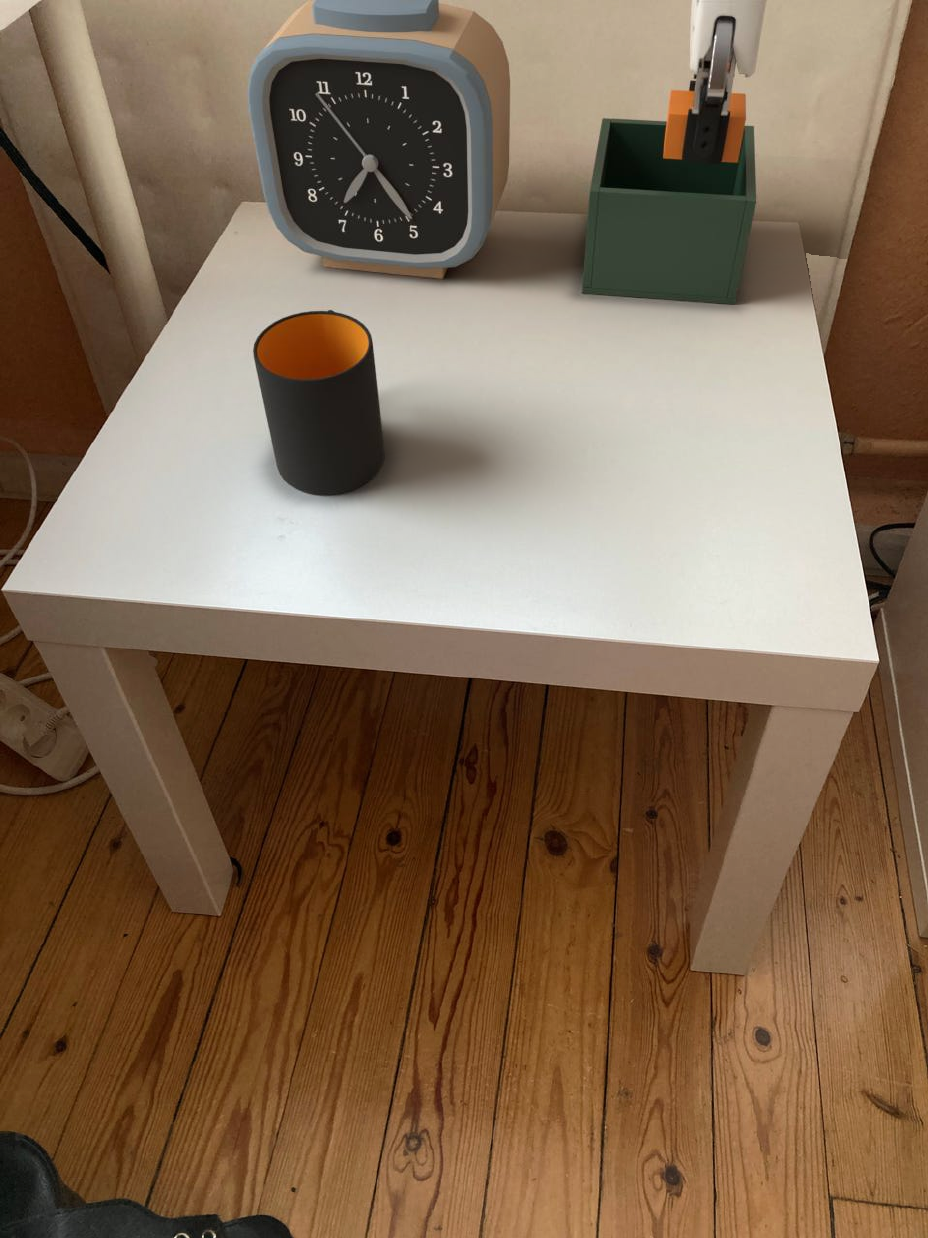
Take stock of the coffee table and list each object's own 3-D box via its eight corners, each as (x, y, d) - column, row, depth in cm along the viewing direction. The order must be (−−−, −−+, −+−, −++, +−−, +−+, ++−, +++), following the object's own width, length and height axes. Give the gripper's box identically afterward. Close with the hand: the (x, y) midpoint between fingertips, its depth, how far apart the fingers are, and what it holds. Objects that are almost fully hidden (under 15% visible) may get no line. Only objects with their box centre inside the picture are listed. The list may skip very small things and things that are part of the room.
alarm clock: (274, 267, 96) (229, 16, 80) (305, 216, 102) (269, -28, 86) (488, 289, 93) (488, 33, 77) (508, 235, 99) (511, -14, 82)
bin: (734, 225, 99) (754, 125, 92) (735, 304, 91) (756, 201, 83) (594, 216, 101) (602, 117, 94) (581, 293, 92) (589, 190, 85)
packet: (665, 133, 86) (670, 89, 84) (737, 137, 86) (745, 93, 83) (663, 158, 84) (668, 113, 81) (737, 162, 83) (746, 117, 80)
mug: (395, 395, 83) (385, 282, 76) (377, 497, 76) (364, 382, 68) (295, 393, 84) (274, 280, 76) (267, 493, 76) (241, 379, 68)
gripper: (805, -75, 65) (749, 200, 79) (794, -151, 75) (747, 103, 89) (685, -79, 66) (651, 194, 80) (691, -154, 76) (660, 99, 90)
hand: (702, 143), depth 84 cm, fingers closed on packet, 4 cm apart
